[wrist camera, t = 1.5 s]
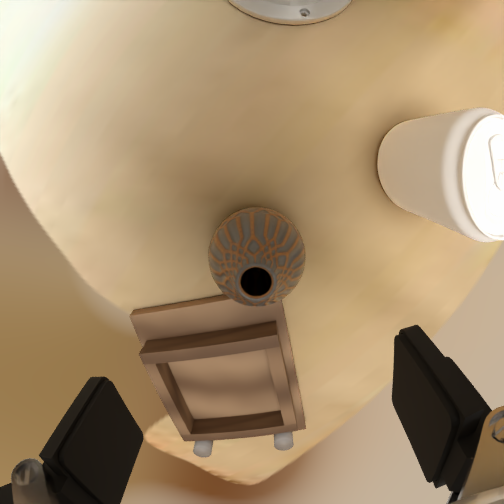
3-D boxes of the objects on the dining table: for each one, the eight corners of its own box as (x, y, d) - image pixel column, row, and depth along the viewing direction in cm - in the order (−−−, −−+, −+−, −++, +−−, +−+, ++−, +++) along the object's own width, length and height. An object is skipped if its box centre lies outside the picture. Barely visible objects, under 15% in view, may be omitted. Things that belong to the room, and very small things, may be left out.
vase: (272, 294, 27) (277, 351, 19) (202, 258, 27) (177, 302, 18) (313, 227, 26) (339, 260, 17) (240, 186, 25) (230, 199, 16)
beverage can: (379, 217, 25) (456, 260, 14) (367, 123, 23) (444, 101, 11) (453, 206, 25) (542, 238, 13) (444, 120, 22) (536, 110, 11)
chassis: (133, 310, 28) (117, 331, 24) (278, 284, 27) (281, 305, 23) (191, 433, 33) (185, 459, 29) (304, 421, 32) (308, 447, 28)
